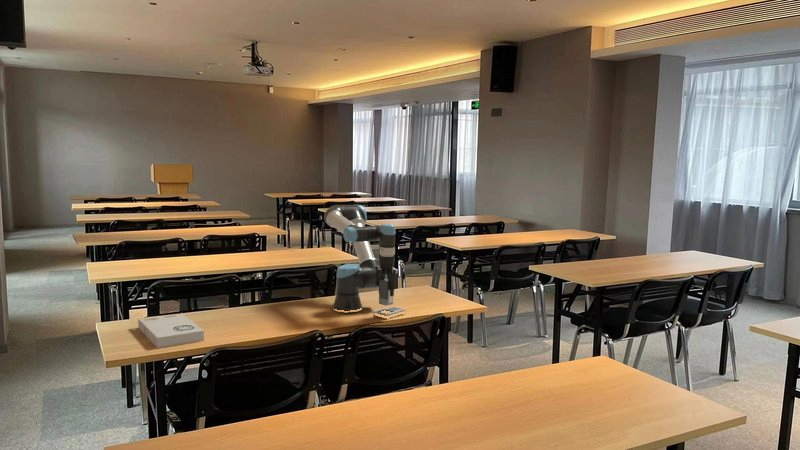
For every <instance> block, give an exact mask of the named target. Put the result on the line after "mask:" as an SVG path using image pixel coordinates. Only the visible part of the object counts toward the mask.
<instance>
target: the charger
mask: <svg viewBox="0 0 800 450" xmlns="http://www.w3.org/2000/svg"><path fill="white" fill-rule="evenodd" d="M389 289H390V288H389V281H388V278H386V279H383V280H379V287H378V305H382V306H389V305H390V306H392V305H394V301H393V302H391V303H388V290H389Z"/></svg>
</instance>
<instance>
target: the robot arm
mask: <svg viewBox="0 0 800 450" xmlns="http://www.w3.org/2000/svg"><path fill="white" fill-rule="evenodd" d="M323 218H324V219H323V220H324V222H325V223H326V224H327V226H329V227H331V228H334V229H336V230H337V231H339V232H340V233H341V234H342V235H343V239H344V241H345V242H346V243H352V244H353V247H354V250H355V254H356V256H357V260H358V262H359V264H358V263H345V264H343V265H340V266H339V267H337V269H336V275H335V276H336V288H335V289H336V291H335V293H336V294H335V298H334V302H333V304H332V309H333V308H334V309H337V310H344V311H350V310H357V309H360V308H362V309H363V304H362V302H361V296H360V290H364V289H377V288H379V280H383V279H388V281H389V288H390V289H389V290H388V303H391V302H393V303H394V295H395V290H398V280H399V279H398V274H399V269H398V268H395V266H394V264H395V262H396V259H395V258H396V257H395V254H396V246H395V245H396V233H397V232H396V225H395V224H391V223H381V224H380V225H379V224H377V225H376V224H375V225H372V226H369V225H367V226H366V224H367V221H368V216H367V210H366V209H365V206H363V205H361V204H335V205H331V206H330V207H328V208H327V209H326V210H325V212H324V216H323ZM371 242H379V259H377V258H375V255H374V253H373V249H372V246H371V244H370V243H371Z"/></svg>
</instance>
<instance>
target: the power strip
mask: <svg viewBox="0 0 800 450" xmlns="http://www.w3.org/2000/svg"><path fill="white" fill-rule="evenodd" d="M384 310H386V311H390V312H391V313H387V314H385V313H381V311H384ZM403 311H405V312H406V309H405V308H402V307H397V306H393V305H390V306H388V307H384V308H380V309H376V310H373V314H374V313H377V314H380V315H384V316H390V315H393V314H396V313H399V312H403Z"/></svg>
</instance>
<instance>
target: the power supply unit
mask: <svg viewBox="0 0 800 450" xmlns="http://www.w3.org/2000/svg"><path fill="white" fill-rule="evenodd" d="M137 324H138V325H137V326H138V329H139V330H140V331H141V332H142V334H143V335H145V337H146V338H147V339H148V340H149V341H150V342H151V343H152V344H153V345H154V346H155V347H156V348H157V349H162V348H168V347H173V346H180V345H185V344H192V343H198V342H204V341H205V329H203V328H202V327H200V326H199V325H197V324H196V323H195V321H192V319H190V318H189V317H187V316H186V315H185V314H184V313H182V312H180V314H172V315H164V316H159V317H158V316H157V317H156V316H155V317H149V318H143V319H140V318H138V319H137Z"/></svg>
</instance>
